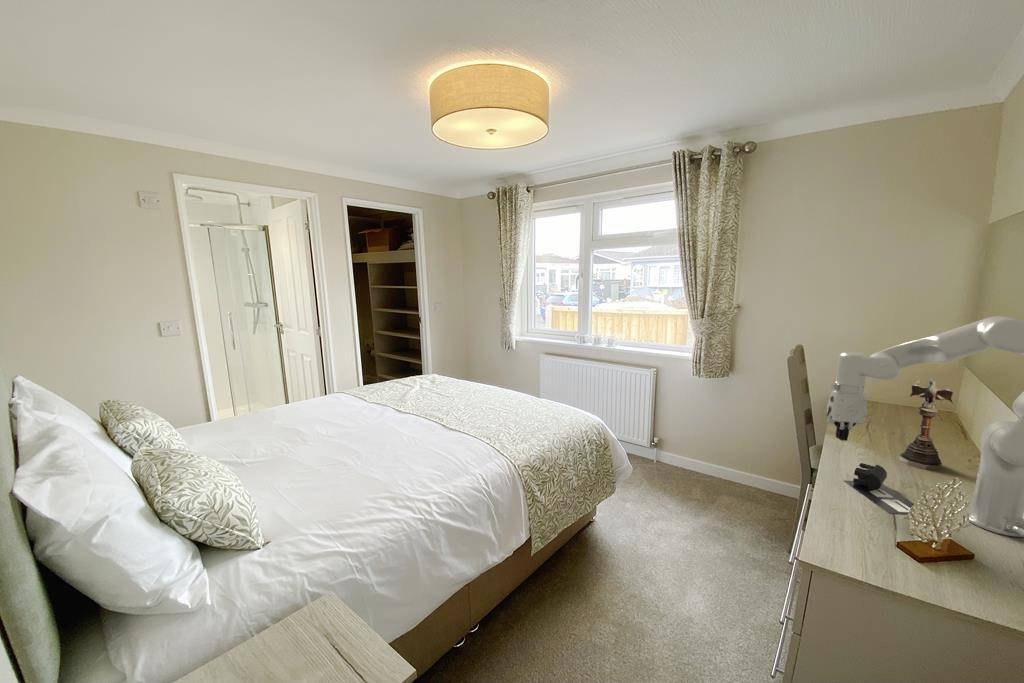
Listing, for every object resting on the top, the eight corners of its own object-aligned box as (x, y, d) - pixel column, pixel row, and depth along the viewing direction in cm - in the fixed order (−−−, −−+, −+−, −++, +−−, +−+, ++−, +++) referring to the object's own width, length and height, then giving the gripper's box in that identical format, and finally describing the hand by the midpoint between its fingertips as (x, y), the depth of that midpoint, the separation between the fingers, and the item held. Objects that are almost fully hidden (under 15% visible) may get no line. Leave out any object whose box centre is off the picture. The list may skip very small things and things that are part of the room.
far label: (893, 497, 130) (893, 497, 130) (877, 497, 131) (877, 496, 131) (869, 482, 140) (870, 481, 140) (854, 481, 141) (854, 481, 141)
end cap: (879, 495, 132) (881, 476, 131) (852, 486, 137) (854, 468, 136) (885, 485, 138) (888, 467, 137) (859, 477, 143) (861, 460, 142)
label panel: (932, 515, 121) (932, 515, 121) (889, 513, 122) (889, 513, 122) (879, 482, 140) (879, 481, 140) (843, 480, 142) (843, 480, 142)
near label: (916, 513, 122) (916, 512, 122) (899, 512, 123) (899, 511, 123) (897, 500, 129) (897, 499, 129) (880, 499, 130) (880, 499, 130)
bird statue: (899, 449, 166) (911, 369, 160) (944, 460, 156) (959, 375, 150) (890, 460, 156) (903, 376, 150) (938, 473, 146) (954, 382, 140)
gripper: (832, 391, 130) (825, 442, 133) (881, 392, 128) (873, 444, 131) (818, 384, 137) (811, 433, 140) (864, 385, 136) (856, 435, 139)
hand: (841, 438), depth 136 cm, fingers closed
